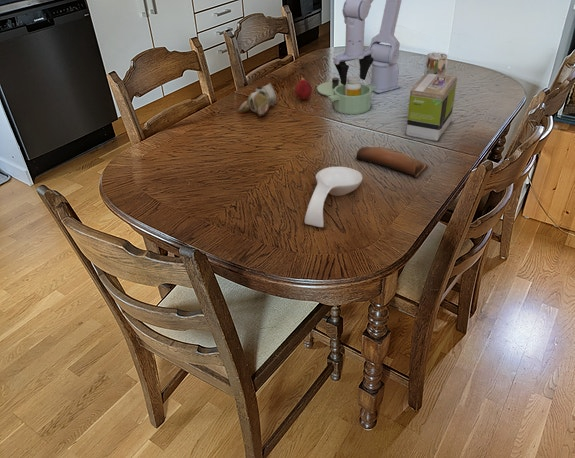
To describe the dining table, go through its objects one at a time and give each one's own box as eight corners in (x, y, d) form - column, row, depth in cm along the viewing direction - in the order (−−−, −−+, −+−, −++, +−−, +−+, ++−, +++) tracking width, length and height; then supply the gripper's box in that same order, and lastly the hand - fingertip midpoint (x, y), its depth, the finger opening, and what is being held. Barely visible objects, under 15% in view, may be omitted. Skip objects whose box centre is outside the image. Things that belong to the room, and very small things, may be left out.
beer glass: (443, 96, 173) (450, 53, 164) (439, 104, 168) (445, 60, 159) (423, 94, 176) (428, 51, 167) (418, 101, 171) (424, 57, 162)
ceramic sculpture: (283, 80, 167) (259, 99, 157) (285, 104, 172) (262, 124, 163) (256, 76, 171) (231, 94, 162) (259, 99, 177) (235, 118, 167)
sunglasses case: (428, 164, 136) (425, 150, 130) (417, 185, 134) (414, 172, 129) (370, 147, 145) (365, 133, 139) (359, 166, 143) (353, 154, 138)
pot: (320, 106, 171) (320, 89, 167) (362, 95, 177) (363, 78, 174) (340, 119, 162) (340, 101, 158) (384, 106, 168) (385, 89, 165)
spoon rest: (325, 174, 135) (325, 150, 130) (367, 181, 131) (368, 157, 127) (291, 222, 118) (290, 197, 113) (338, 233, 114) (339, 207, 109)
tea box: (420, 116, 161) (426, 71, 152) (451, 122, 157) (459, 76, 148) (404, 135, 151) (410, 88, 142) (437, 142, 147) (445, 94, 138)
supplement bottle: (341, 104, 170) (342, 76, 165) (354, 100, 172) (355, 73, 166) (349, 109, 167) (350, 81, 161) (363, 106, 168) (364, 78, 162)
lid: (310, 89, 184) (310, 76, 181) (340, 81, 189) (340, 69, 186) (329, 101, 174) (329, 88, 171) (361, 92, 179) (361, 80, 176)
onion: (312, 97, 178) (312, 74, 173) (311, 103, 173) (311, 81, 168) (296, 97, 178) (295, 75, 173) (294, 103, 174) (294, 81, 169)
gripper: (342, 46, 151) (341, 90, 159) (381, 38, 156) (378, 80, 164) (330, 41, 156) (329, 83, 164) (367, 32, 161) (365, 74, 169)
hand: (353, 81), depth 165 cm, fingers open, 7 cm apart
